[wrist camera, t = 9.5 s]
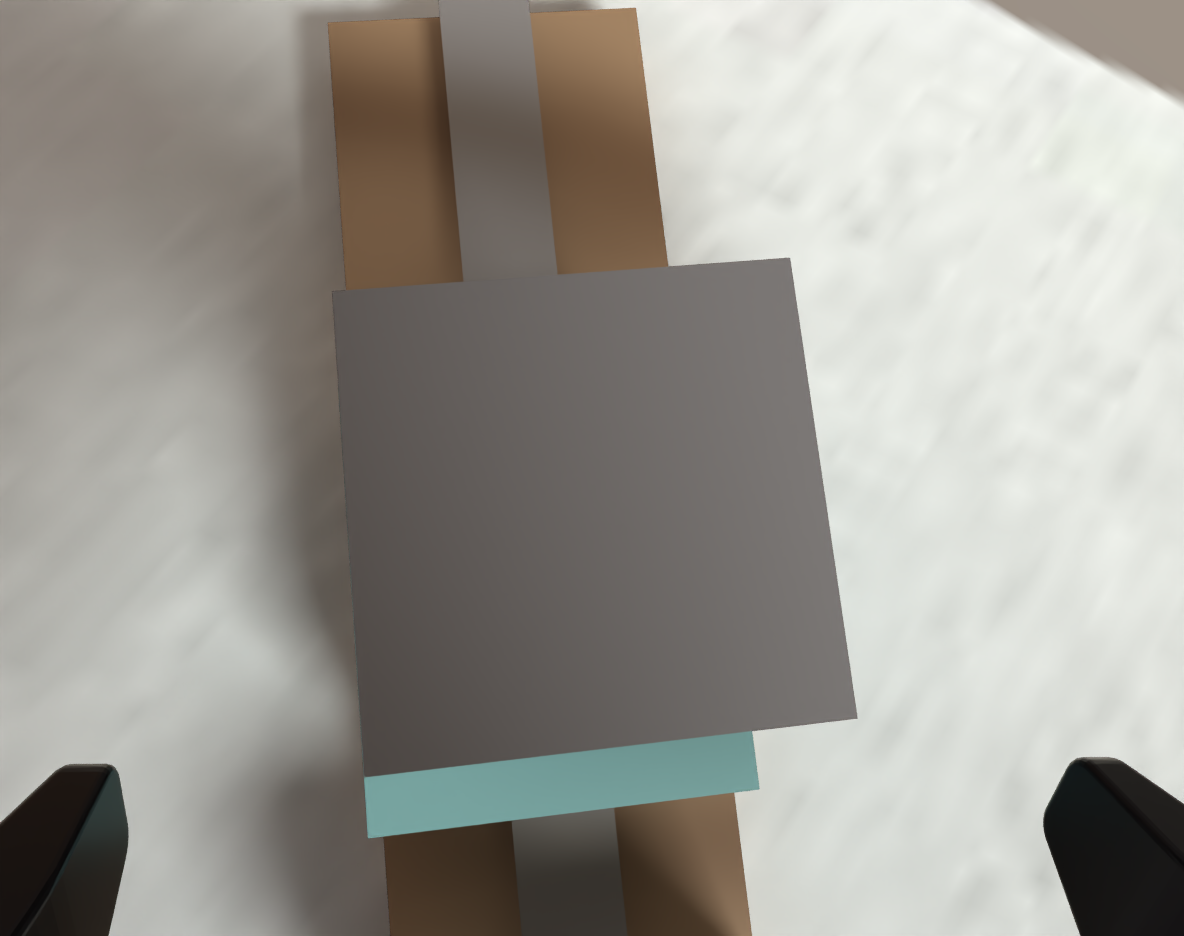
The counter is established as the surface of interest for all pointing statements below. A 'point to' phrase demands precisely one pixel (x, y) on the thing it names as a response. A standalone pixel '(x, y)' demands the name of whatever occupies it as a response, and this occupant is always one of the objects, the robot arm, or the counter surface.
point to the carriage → (582, 539)
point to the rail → (499, 251)
